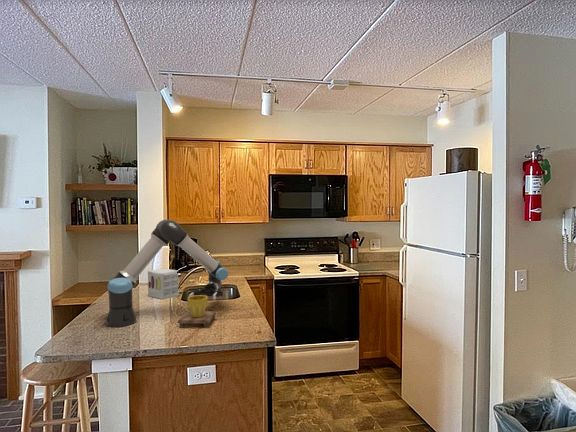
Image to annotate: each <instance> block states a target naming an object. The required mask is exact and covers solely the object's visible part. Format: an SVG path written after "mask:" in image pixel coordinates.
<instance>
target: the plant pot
mask: <svg viewBox="0 0 576 432" xmlns="http://www.w3.org/2000/svg"><path fill="white" fill-rule="evenodd" d="M208 300H209V296H207V295H196V296H191V297H187V305H188V307H189V312H191V315H192V317H202V316H204V314H205V311H206V308H207V305H208Z"/></svg>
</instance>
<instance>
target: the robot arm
mask: <svg viewBox="0 0 576 432" xmlns="http://www.w3.org/2000/svg"><path fill="white" fill-rule="evenodd" d="M170 243H172V244H173V245H175V246H176V247H180V248H181V249H182V250H183V251H184V252H185V253H187V254H188V255H189V256H190V257H191V258H192V259H193V260H195V261H196V262H197V263H198V264H199V265H201V266H202V267H203V268H204V269H205V270H206V271H208V273H207V274H208V283H207V284H206V285H204V287H203V288H201V289H200V288H197V289H193V290H191V291H188V292H187V298H189V297H191V296H196V295H204V296H207V297H213V298H212V300H216V299H217V298H219V297H223V296H224V291H222V286H223V283H222V282H223V281H225V280H226V279H227V278H228V276H229V270H228V269H227V268H225V267H224V266H223V265H221V262H220V260H216V259H214V258H213V257H212V256H211V255H210V254H209V252H207V251H206V250H205V249H203V248H202V247H201V246H200V245H198V243H197V242H195V241H194V240H193V239H191V238H190V237H189V234H188V232H187V231H186V230H184V229H183V228H182V226H181V225H180V224H179V223H178V222H176V221H174V220H171V219H163V220H160V221H159V222H158V223H156V226H155V228H154V230H153V231H152V232H151V233H150V238H149V239H148V241H146V243H145V244H144V245H143V246H142V248H141V249H140V250H139V251H138V253H137V254H136V255H135V256H134V257H133V259H132V260H131V261H130V262H129V263H128V265H126V267H125V268H124V269H123V270H119V271H118V272H117V273H116V274H115V275H114V277H112V278H111V279H110V280H109V281H108V283H107V287H106V288H107V289H106V290H107V293H108V307H109V308H108V313H107V316H106V320H105V325H106V327H111V328H119V327H126V326H130V325H133V324H135V323H137V315H136V313H135V309H134V307H133V288H134V287H135V286H136V284H137V278H138V277H140V275H141V274H142V273H143V271H144V270H145V269H146V268H147V266H148V265H150V263H151V261H153V259H154V258H155V257H156V255H157V254H158V253H159V252H160V250H161V249H162V248H163V247H165V246H168V245H169V244H170Z"/></svg>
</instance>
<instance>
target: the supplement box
mask: <svg viewBox="0 0 576 432" xmlns="http://www.w3.org/2000/svg"><path fill="white" fill-rule="evenodd" d="M177 271H178V273H177ZM147 295H148V297H149V298H150V297H151V298H155V299H159V300H163V301H164V300H168V299H171V298H175V297H179V270H176V269H172V268H171V269H170V268H163V267H162V268H158V269H157V268H156V269H152V270H148V271H147Z"/></svg>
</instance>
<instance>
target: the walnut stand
mask: <svg viewBox="0 0 576 432" xmlns="http://www.w3.org/2000/svg"><path fill="white" fill-rule="evenodd" d="M216 314H217V312H216V310H215V311H213V310H211V311H207V310H205V314H204V316H202V317H192V315H191V311H185V313H184V314H183V315H182V316H181V317H180V318H179V319H177V324H178V325H179V328H185V324H203V325H204V326H203V327H204V328H209V327H210V322H211V321H214V320H216V318H215V317H216Z"/></svg>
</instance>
